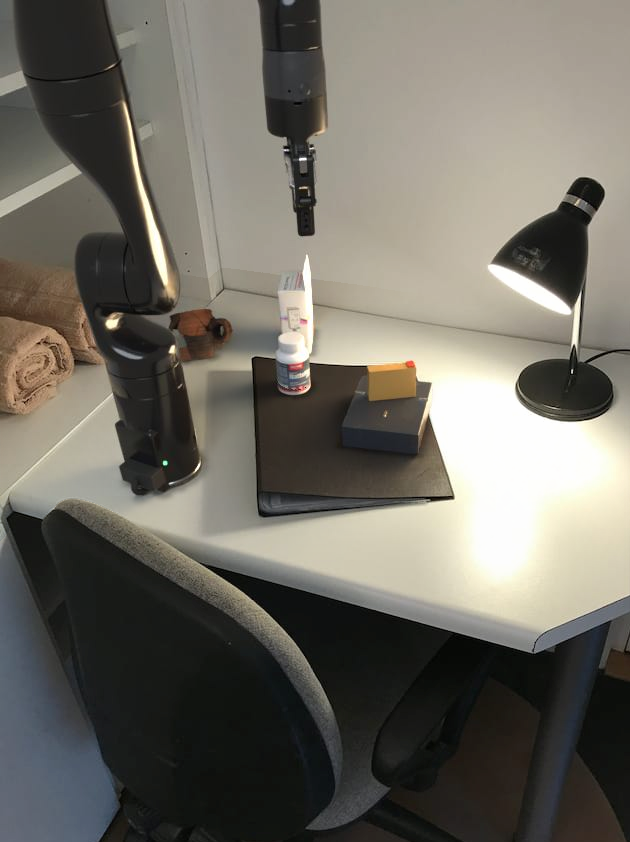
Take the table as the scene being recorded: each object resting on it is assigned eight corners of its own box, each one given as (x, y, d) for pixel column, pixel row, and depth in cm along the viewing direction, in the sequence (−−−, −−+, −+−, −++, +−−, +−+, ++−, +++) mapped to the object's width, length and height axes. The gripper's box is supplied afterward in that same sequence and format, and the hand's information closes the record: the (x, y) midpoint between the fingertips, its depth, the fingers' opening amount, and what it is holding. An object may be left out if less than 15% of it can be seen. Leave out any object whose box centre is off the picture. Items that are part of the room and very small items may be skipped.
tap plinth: (418, 454, 107) (419, 433, 105) (341, 446, 109) (340, 425, 107) (432, 399, 118) (433, 379, 116) (362, 392, 120) (362, 372, 118)
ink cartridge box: (287, 331, 136) (280, 252, 127) (314, 331, 136) (309, 252, 127) (282, 355, 130) (274, 273, 120) (311, 354, 130) (305, 273, 120)
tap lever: (369, 401, 111) (368, 370, 108) (367, 394, 113) (366, 364, 109) (415, 396, 112) (416, 366, 109) (413, 390, 114) (414, 359, 110)
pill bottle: (291, 399, 119) (286, 350, 113) (271, 386, 122) (266, 337, 116) (317, 387, 121) (314, 338, 116) (297, 375, 124) (293, 326, 119)
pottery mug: (163, 365, 128) (153, 316, 127) (190, 362, 137) (181, 316, 136) (227, 353, 125) (217, 303, 124) (250, 351, 134) (241, 304, 133)
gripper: (261, 78, 96) (273, 207, 106) (266, 105, 85) (278, 245, 95) (320, 75, 96) (326, 203, 106) (332, 101, 85) (337, 241, 95)
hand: (303, 223), depth 101 cm, fingers open, 8 cm apart
